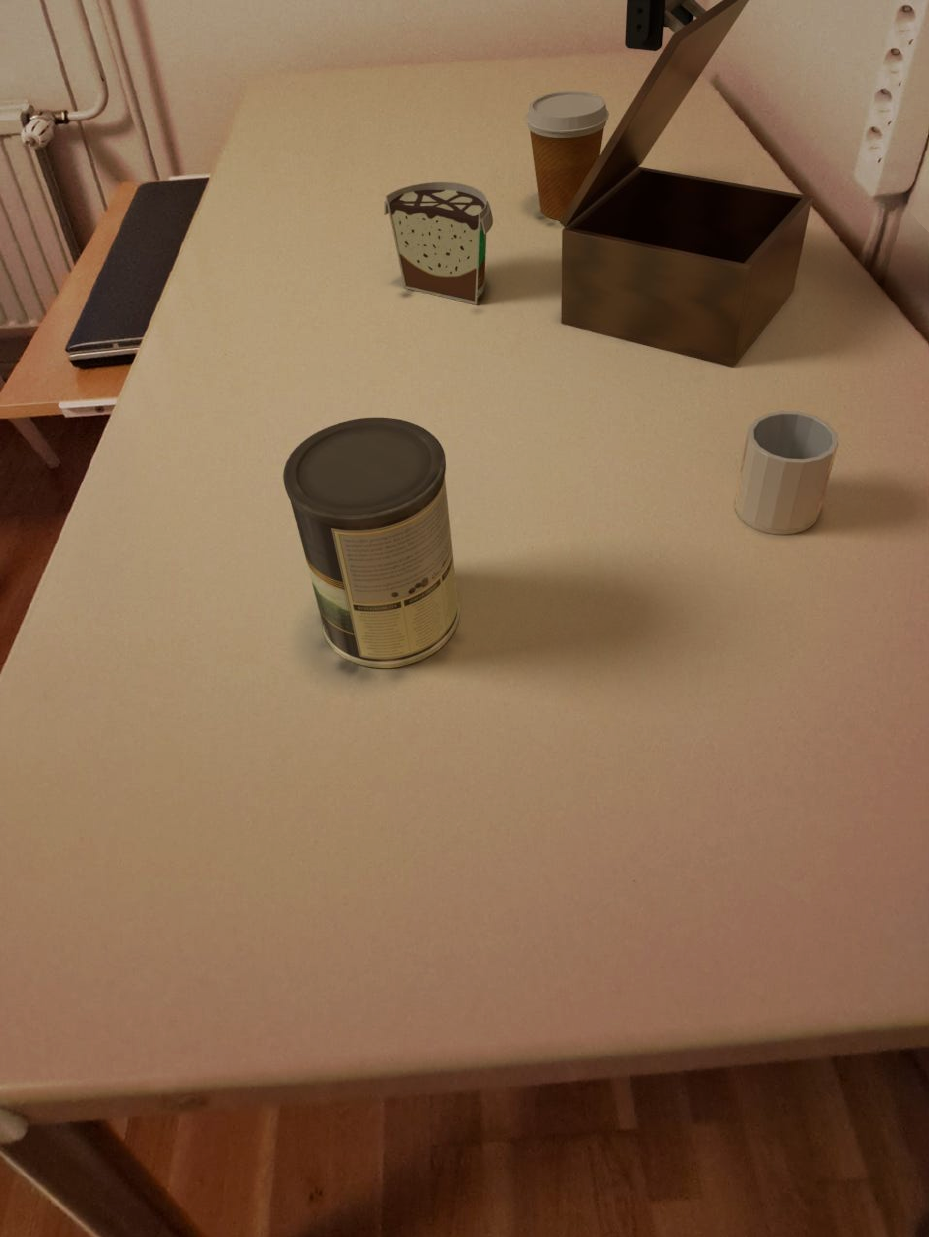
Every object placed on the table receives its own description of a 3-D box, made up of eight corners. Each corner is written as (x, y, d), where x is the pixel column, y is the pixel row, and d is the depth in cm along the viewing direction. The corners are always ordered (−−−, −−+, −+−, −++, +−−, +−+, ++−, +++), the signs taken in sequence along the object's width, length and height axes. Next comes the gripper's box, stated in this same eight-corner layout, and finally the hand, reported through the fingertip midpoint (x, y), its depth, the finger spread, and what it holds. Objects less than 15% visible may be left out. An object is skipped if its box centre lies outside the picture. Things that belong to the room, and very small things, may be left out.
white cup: (829, 497, 75) (849, 424, 70) (802, 544, 72) (821, 471, 67) (752, 474, 78) (766, 402, 73) (722, 518, 74) (735, 446, 69)
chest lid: (759, -15, 82) (713, -56, 82) (680, 40, 73) (628, -6, 73) (641, 164, 98) (602, 129, 98) (565, 227, 89) (522, 190, 89)
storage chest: (794, 290, 98) (813, 195, 91) (733, 367, 89) (749, 269, 82) (632, 255, 106) (638, 166, 99) (561, 323, 97) (561, 229, 90)
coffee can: (297, 650, 68) (252, 498, 57) (359, 557, 74) (328, 405, 64) (428, 685, 65) (405, 531, 54) (481, 585, 71) (469, 430, 61)
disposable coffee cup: (517, 223, 114) (515, 116, 105) (539, 190, 120) (538, 87, 111) (594, 229, 111) (598, 121, 102) (612, 196, 117) (617, 90, 108)
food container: (516, 282, 103) (514, 189, 96) (489, 307, 100) (484, 213, 93) (422, 261, 108) (413, 172, 101) (393, 285, 105) (381, 194, 97)
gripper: (677, -229, 62) (657, 73, 75) (770, -260, 72) (737, 13, 85) (577, -226, 65) (574, 63, 78) (678, -256, 75) (661, 7, 88)
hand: (659, 35), depth 82 cm, fingers closed on chest lid, 5 cm apart
